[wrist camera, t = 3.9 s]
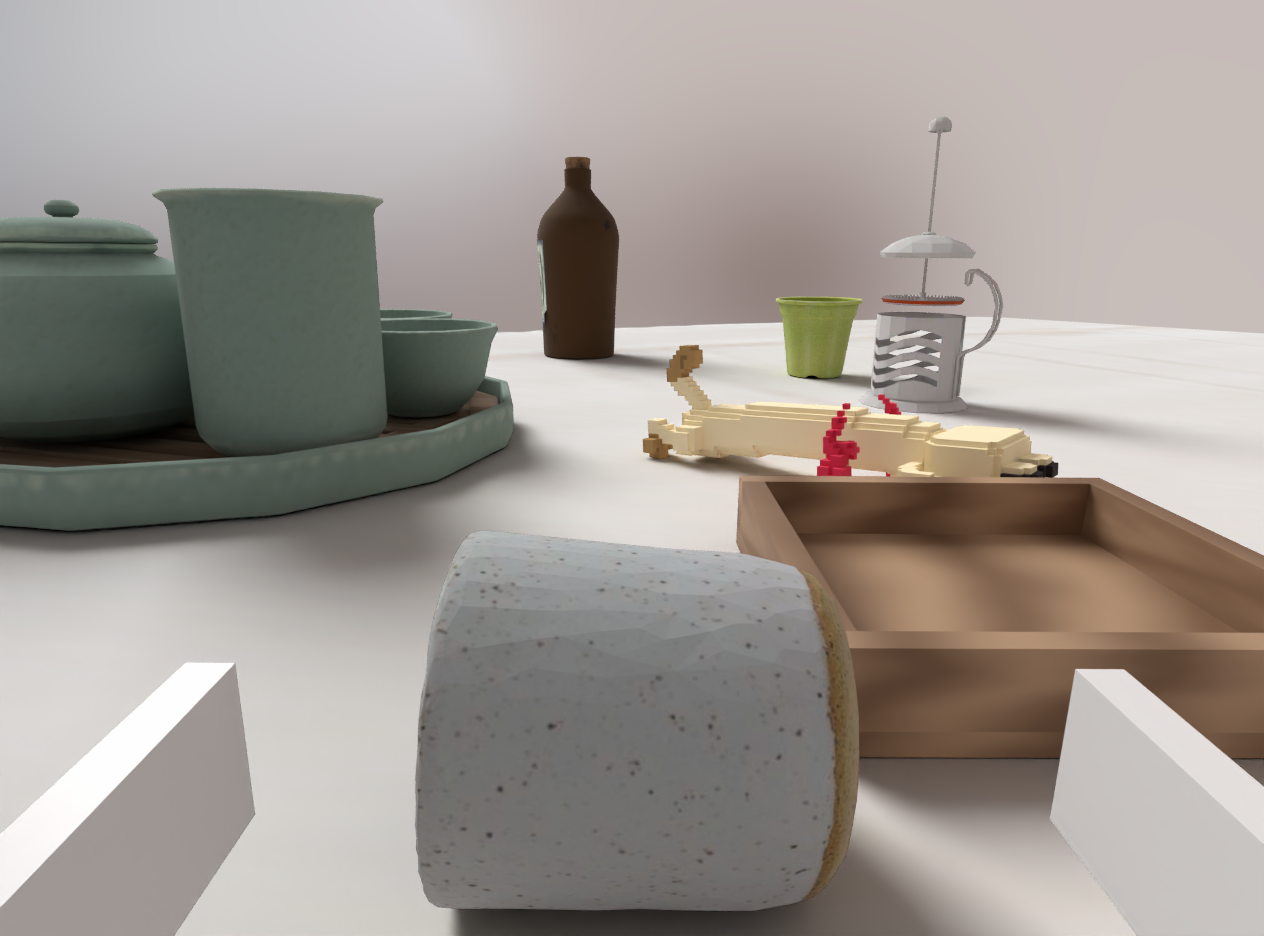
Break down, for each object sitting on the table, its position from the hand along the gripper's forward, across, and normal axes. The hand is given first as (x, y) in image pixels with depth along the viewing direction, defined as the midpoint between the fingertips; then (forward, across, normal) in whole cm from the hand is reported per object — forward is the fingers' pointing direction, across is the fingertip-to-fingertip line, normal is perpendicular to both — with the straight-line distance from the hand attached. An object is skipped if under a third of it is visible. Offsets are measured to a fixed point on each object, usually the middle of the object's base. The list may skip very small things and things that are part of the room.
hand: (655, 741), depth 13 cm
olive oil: (+98, -7, -6) cm, 98 cm away
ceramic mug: (+6, -1, -6) cm, 8 cm away
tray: (+17, +13, -6) cm, 22 cm away
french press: (+63, +27, -6) cm, 69 cm away
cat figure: (+35, +12, -6) cm, 37 cm away
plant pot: (+81, +21, -6) cm, 84 cm away
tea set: (+45, -29, -6) cm, 54 cm away
